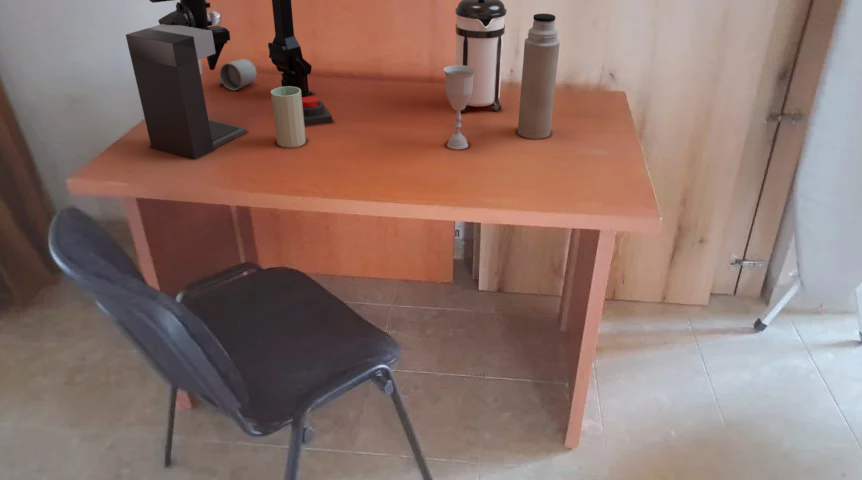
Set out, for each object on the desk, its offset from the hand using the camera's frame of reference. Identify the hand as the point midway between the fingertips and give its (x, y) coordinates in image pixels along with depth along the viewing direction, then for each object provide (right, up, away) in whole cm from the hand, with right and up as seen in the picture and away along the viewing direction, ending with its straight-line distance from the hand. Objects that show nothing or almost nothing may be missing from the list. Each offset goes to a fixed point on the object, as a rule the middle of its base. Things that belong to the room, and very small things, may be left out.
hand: (201, 65), depth 169 cm
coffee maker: (0, -18, -1) cm, 18 cm away
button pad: (+25, -10, +11) cm, 29 cm away
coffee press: (+68, -5, +20) cm, 71 cm away
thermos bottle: (+81, -16, +3) cm, 83 cm away
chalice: (+62, -20, -4) cm, 65 cm away
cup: (+22, -19, -3) cm, 30 cm away
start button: (+25, -8, +9) cm, 28 cm away
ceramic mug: (0, +3, +32) cm, 32 cm away
